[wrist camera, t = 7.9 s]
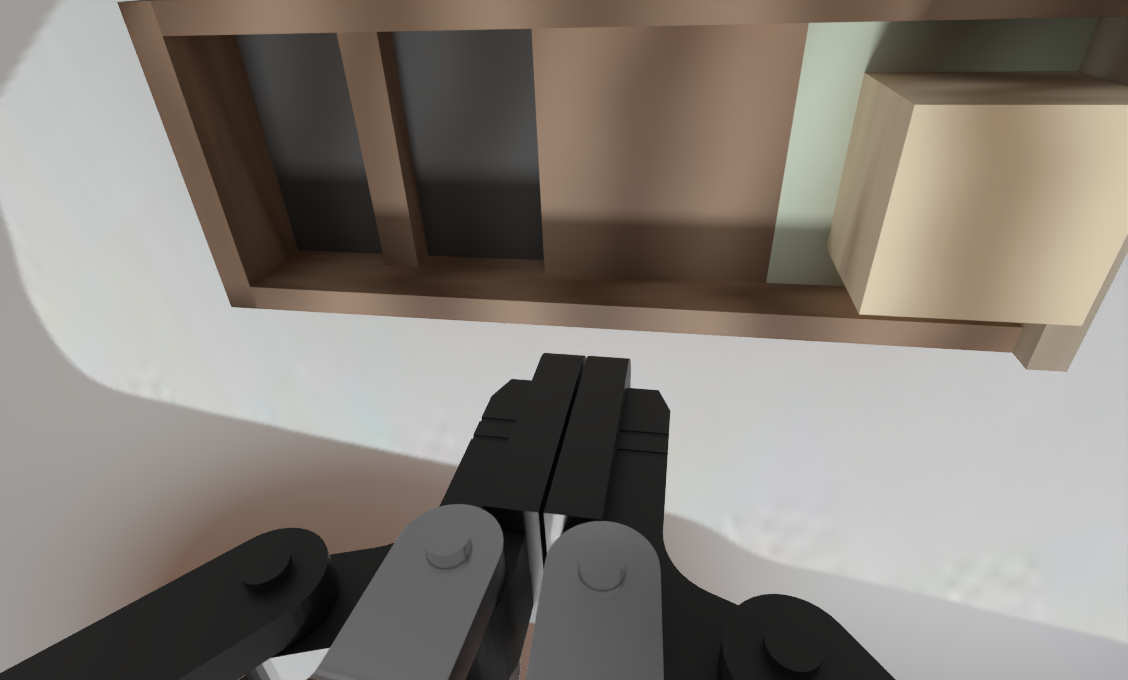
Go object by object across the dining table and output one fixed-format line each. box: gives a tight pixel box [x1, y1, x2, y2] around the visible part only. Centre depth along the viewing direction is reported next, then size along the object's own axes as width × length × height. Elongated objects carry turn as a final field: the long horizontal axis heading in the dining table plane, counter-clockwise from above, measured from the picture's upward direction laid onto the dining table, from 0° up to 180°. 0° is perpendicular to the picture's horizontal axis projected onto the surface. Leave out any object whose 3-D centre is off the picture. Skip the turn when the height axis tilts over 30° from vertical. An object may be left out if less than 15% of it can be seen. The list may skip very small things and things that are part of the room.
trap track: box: [118, 0, 1128, 372], centre depth 21 cm, size 31×11×5 cm, turn 92°
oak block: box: [826, 71, 1128, 326], centre depth 18 cm, size 6×6×5 cm
